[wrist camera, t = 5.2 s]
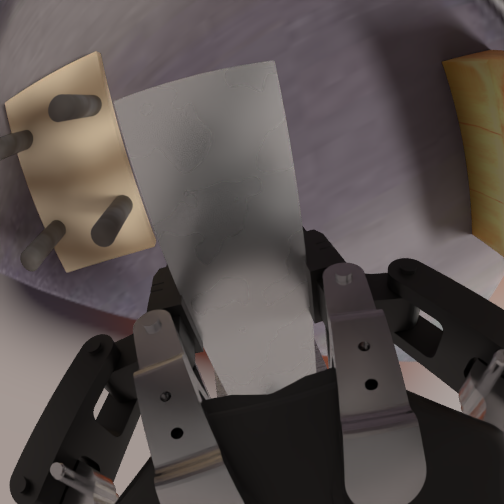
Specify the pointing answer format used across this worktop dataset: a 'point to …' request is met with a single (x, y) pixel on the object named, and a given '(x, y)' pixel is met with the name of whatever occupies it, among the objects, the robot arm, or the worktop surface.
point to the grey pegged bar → (228, 219)
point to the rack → (76, 168)
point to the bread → (482, 137)
